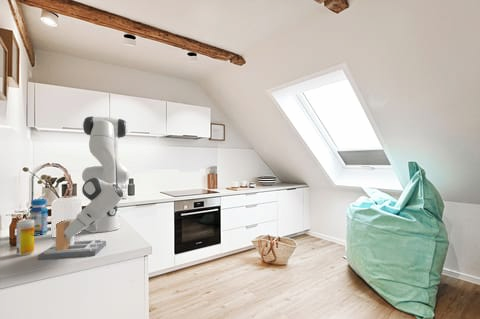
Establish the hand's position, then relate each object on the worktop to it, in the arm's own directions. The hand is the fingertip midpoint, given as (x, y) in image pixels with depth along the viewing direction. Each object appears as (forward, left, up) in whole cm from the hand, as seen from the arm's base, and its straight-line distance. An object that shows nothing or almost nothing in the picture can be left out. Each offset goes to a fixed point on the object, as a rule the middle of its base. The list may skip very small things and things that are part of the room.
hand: (67, 237), depth 113 cm
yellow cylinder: (-18, -9, -8) cm, 21 cm away
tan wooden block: (-2, -1, -5) cm, 5 cm away
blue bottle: (-51, +10, -8) cm, 53 cm away
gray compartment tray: (-1, +3, -7) cm, 8 cm away
